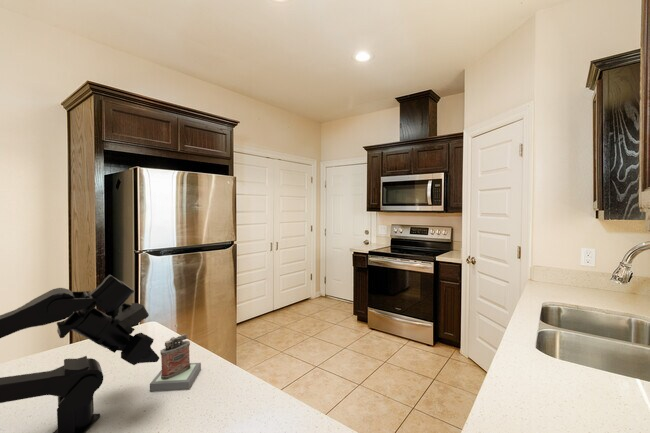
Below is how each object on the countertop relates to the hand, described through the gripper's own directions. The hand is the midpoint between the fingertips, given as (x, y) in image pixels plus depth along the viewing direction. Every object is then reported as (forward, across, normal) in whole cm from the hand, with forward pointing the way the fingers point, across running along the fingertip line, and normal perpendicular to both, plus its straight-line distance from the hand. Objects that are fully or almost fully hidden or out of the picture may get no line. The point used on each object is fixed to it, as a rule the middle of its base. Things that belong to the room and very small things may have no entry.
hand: (148, 354), depth 80 cm
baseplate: (+12, 0, +2) cm, 12 cm away
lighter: (+11, 0, +1) cm, 11 cm away
